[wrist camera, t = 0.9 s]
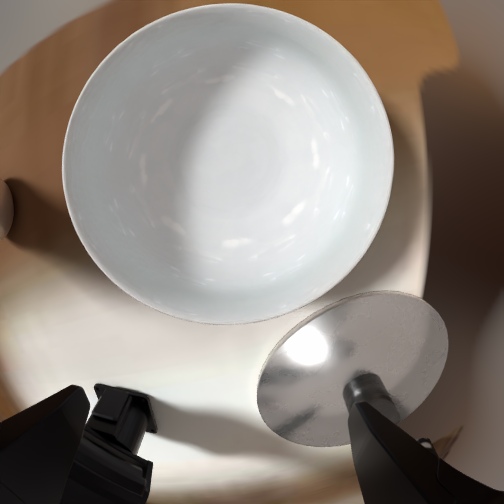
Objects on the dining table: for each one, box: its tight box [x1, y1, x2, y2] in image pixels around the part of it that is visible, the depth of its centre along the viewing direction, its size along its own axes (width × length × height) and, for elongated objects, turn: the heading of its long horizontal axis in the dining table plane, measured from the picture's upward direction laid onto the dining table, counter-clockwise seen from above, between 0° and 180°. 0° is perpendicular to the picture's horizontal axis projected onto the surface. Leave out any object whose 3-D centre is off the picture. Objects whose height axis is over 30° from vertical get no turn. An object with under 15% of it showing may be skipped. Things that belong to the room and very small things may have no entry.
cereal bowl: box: [62, 3, 394, 325], centre depth 15 cm, size 17×17×7 cm
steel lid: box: [257, 291, 448, 447], centre depth 21 cm, size 20×20×6 cm
